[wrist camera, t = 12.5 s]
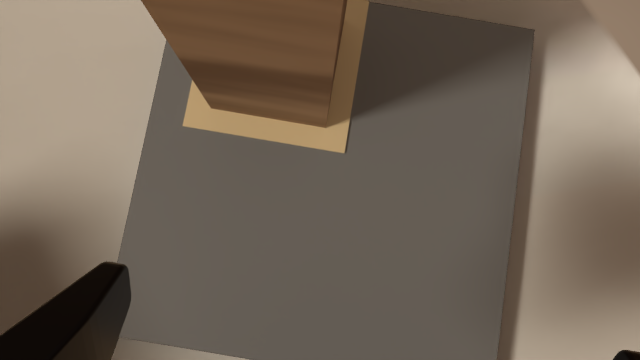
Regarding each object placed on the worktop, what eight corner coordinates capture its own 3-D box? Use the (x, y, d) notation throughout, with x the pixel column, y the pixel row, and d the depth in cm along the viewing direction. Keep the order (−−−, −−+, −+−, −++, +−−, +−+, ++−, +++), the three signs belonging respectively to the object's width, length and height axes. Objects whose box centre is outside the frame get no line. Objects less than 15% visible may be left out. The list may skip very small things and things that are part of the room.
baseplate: (484, 394, 23) (493, 401, 22) (110, 330, 23) (100, 334, 22) (525, 38, 25) (535, 28, 24) (186, -19, 25) (181, -31, 24)
